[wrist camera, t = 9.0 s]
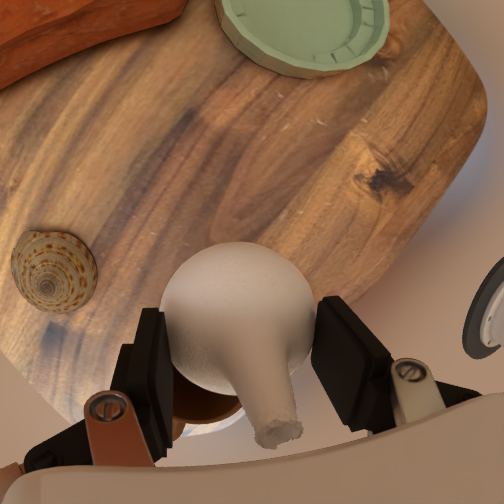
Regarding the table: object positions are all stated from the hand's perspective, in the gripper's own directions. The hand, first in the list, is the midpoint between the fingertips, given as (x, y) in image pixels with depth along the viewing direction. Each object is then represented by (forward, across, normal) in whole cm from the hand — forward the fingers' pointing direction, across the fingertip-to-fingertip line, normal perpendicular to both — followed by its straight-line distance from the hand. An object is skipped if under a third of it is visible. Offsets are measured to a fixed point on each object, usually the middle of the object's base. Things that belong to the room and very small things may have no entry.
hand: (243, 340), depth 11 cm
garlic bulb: (+3, 0, 0) cm, 3 cm away
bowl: (+16, -7, -20) cm, 27 cm away
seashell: (+17, +15, +3) cm, 23 cm away
